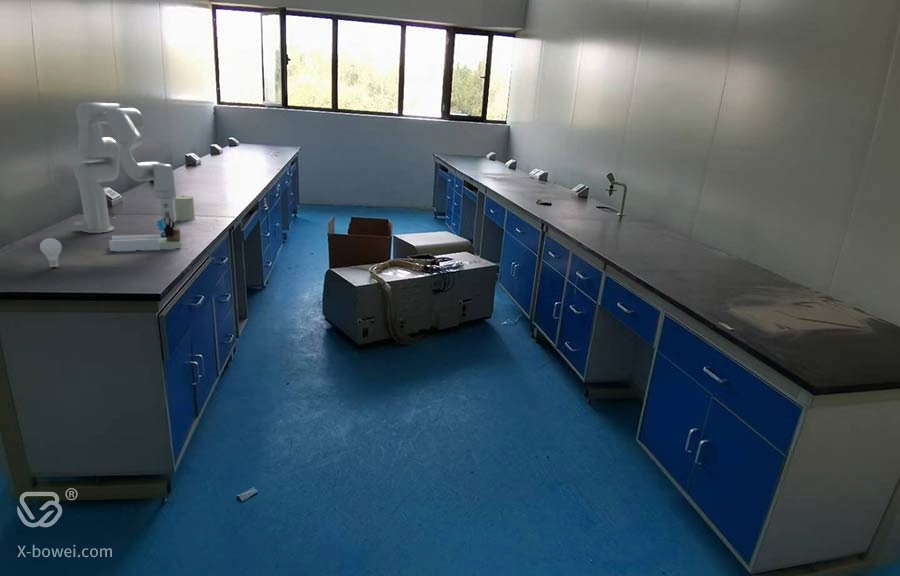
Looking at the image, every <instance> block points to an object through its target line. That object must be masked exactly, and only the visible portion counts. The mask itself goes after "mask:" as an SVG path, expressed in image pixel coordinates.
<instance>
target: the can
mask: <svg viewBox="0 0 900 576" xmlns="http://www.w3.org/2000/svg"><path fill="white" fill-rule="evenodd" d="M174 204H175V212H176V221H178V220H182V221H181V222H186V221H185V220H192V221H195V220H196V216H195V215H196V214H195V207H194V206H195V204H194V197H193V196H191V195H178V196H177V195H176V198H174ZM194 219H195V220H194Z"/></svg>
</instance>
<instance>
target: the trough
mask: <svg viewBox="0 0 900 576" xmlns="http://www.w3.org/2000/svg"><path fill="white" fill-rule="evenodd" d="M161 236H162V235H161V234H135V235H112V236H111V240H108V243H109V251H110V252H111V251H116V252H134V251H135V252H136V250H141V251H158V250H159V251H163V250H162V249H165V250H176V249H175V248H181V249H182V247H183V246H182V245H183V240H182V238H181V239H180V241H175V242H167V237H161ZM181 246H182V247H181ZM160 249H161V250H160Z"/></svg>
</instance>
